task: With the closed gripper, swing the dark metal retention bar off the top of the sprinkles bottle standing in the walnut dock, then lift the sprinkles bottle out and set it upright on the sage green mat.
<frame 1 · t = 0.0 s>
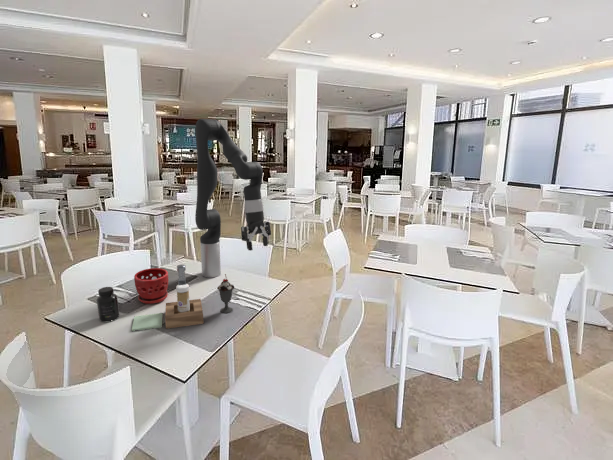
hand: (258, 248, 152), 22 cm above the table, tool pointing down, fingers open, 8 cm apart
supplement bottle: (109, 318, 137), on the table
green mat: (148, 322, 134), on the table
retention bar: (181, 274, 137), point 17 cm above the table, hinge at 0.0°
plant pot: (153, 300, 152), on the table
walnut dock: (184, 317, 138), on the table
sundae: (226, 310, 145), on the table
sprinkles bottle: (184, 318, 138), resting in walnut dock
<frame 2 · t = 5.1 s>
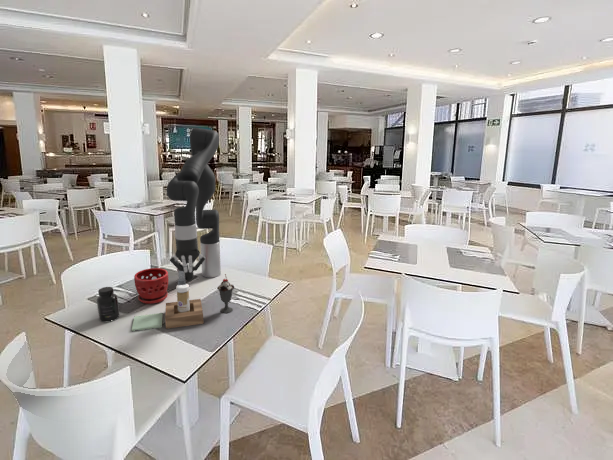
hand: (189, 280, 133), 16 cm above the table, tool pointing down, fingers closed
retention bar: (181, 274, 137), point 17 cm above the table, hinge at 0.4°, touching gripper
everything else where it was.
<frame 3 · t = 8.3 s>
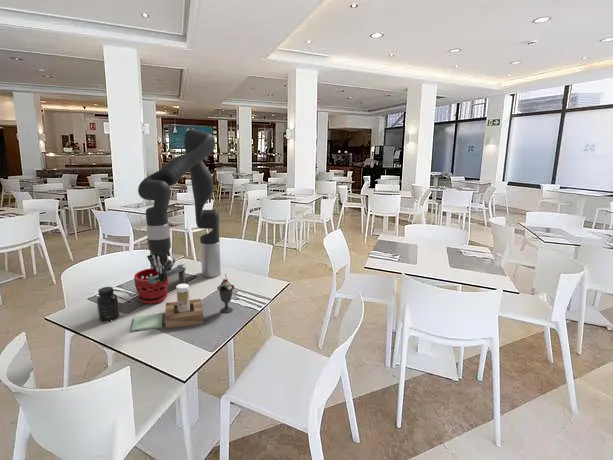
hand: (163, 281, 132), 16 cm above the table, tool pointing down, fingers closed
retention bar: (168, 273, 137), point 17 cm above the table, hinge at 46.1°, touching gripper
everything else where it was.
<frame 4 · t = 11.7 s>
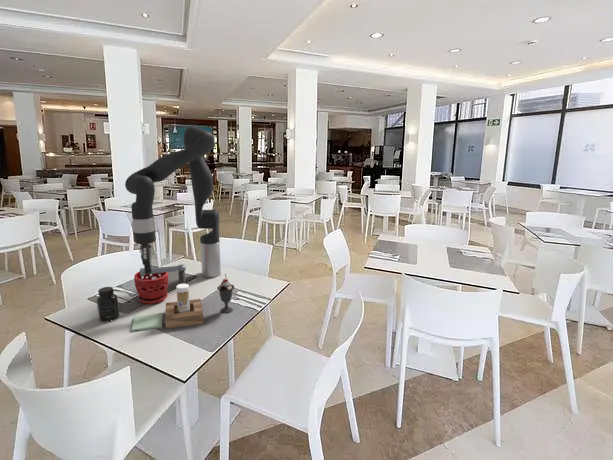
hand: (148, 273, 137), 17 cm above the table, tool pointing down, fingers closed
retention bar: (163, 269, 141), point 17 cm above the table, hinge at 89.5°
everything else where it was.
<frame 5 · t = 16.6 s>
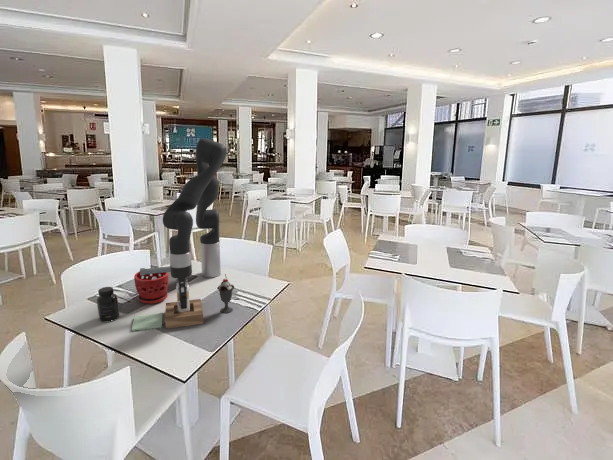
hand: (183, 305, 137), 5 cm above the table, tool pointing down, fingers closed on sprinkles bottle, 4 cm apart
sprinkles bottle: (184, 318, 138), resting in walnut dock, touching gripper
everything else where it was.
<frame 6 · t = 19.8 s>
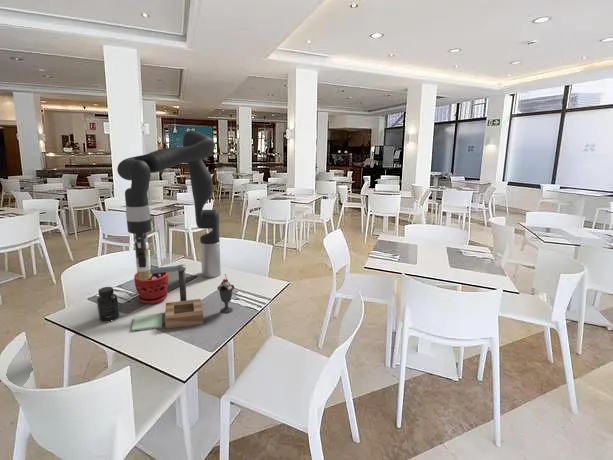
hand: (143, 264, 128), 23 cm above the table, tool pointing down, fingers closed on sprinkles bottle, 4 cm apart
sprinkles bottle: (144, 278, 129), point 18 cm above the table, touching gripper
everything else where it was.
when the fingers open (7 cm above the table, at t = 23.1 s): sprinkles bottle drops 1 cm, resting on green mat.
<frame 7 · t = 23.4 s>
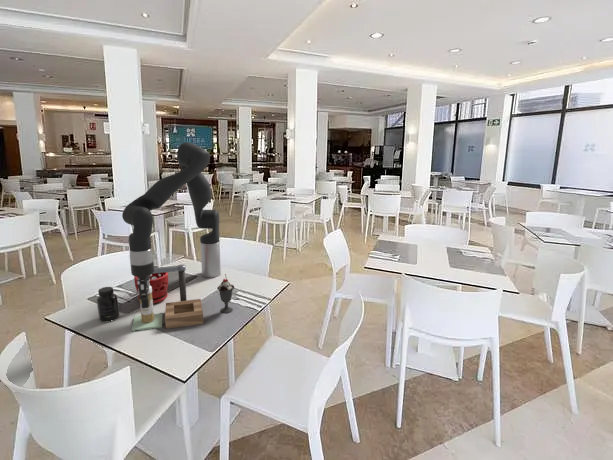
hand: (146, 303, 132), 8 cm above the table, tool pointing down, fingers open, 6 cm apart
sprinkles bottle: (148, 320, 134), point 1 cm above the table, touching green mat
everything else where it was.
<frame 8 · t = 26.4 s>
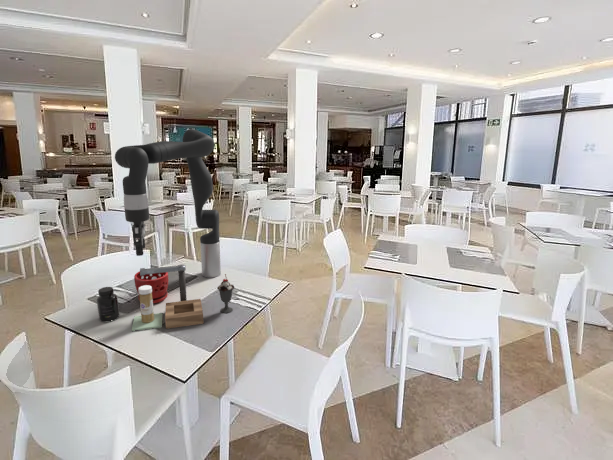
hand: (141, 251, 127), 28 cm above the table, tool pointing down, fingers open, 8 cm apart
nothing on the table moved.
at the end: retention bar at +90° (first picture: +0°); sprinkles bottle inside the target area (0.3 cm from its centre), point 0.6 cm above the table; sprinkles bottle tilted 0° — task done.
